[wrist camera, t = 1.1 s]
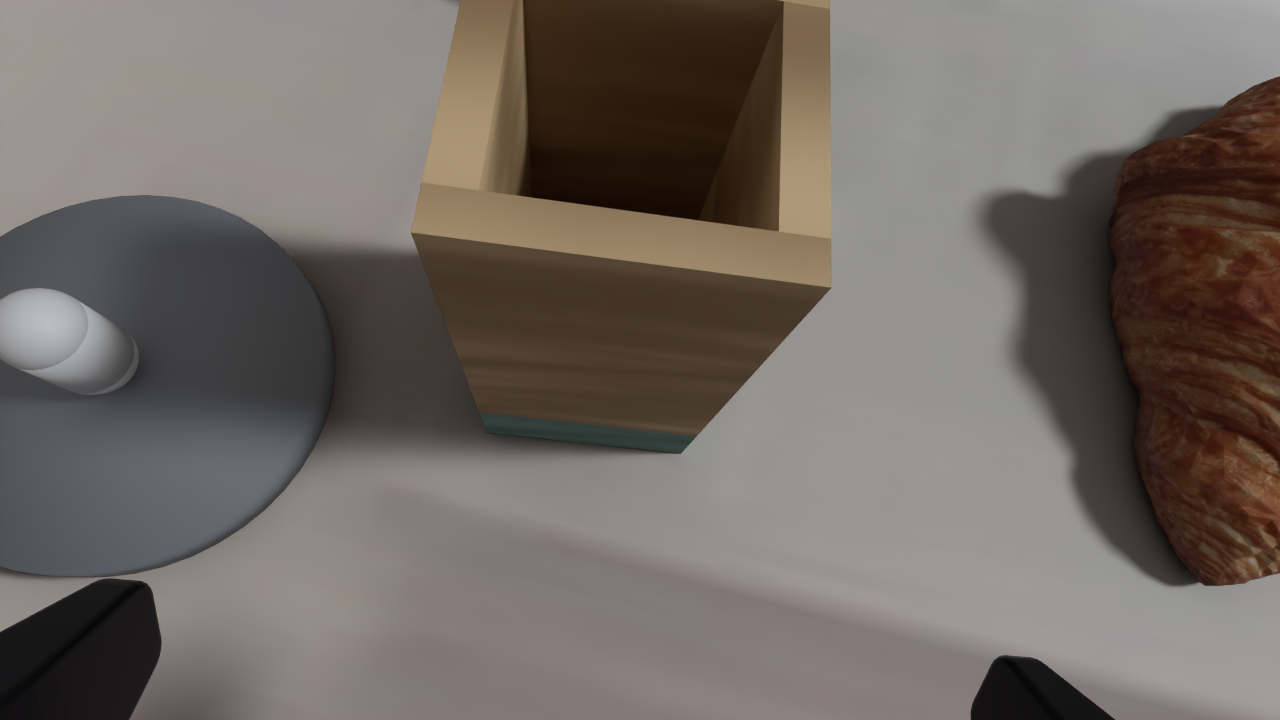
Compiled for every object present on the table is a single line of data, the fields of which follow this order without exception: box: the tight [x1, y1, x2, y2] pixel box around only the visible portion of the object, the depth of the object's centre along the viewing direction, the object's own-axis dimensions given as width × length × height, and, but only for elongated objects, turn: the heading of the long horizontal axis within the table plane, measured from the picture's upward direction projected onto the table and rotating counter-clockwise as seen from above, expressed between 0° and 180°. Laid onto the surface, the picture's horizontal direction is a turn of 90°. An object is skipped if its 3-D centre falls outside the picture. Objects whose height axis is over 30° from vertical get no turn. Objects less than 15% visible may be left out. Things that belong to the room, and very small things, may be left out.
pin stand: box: [0, 195, 335, 577], centre depth 18 cm, size 11×11×5 cm
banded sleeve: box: [411, 0, 831, 453], centre depth 17 cm, size 6×6×12 cm
